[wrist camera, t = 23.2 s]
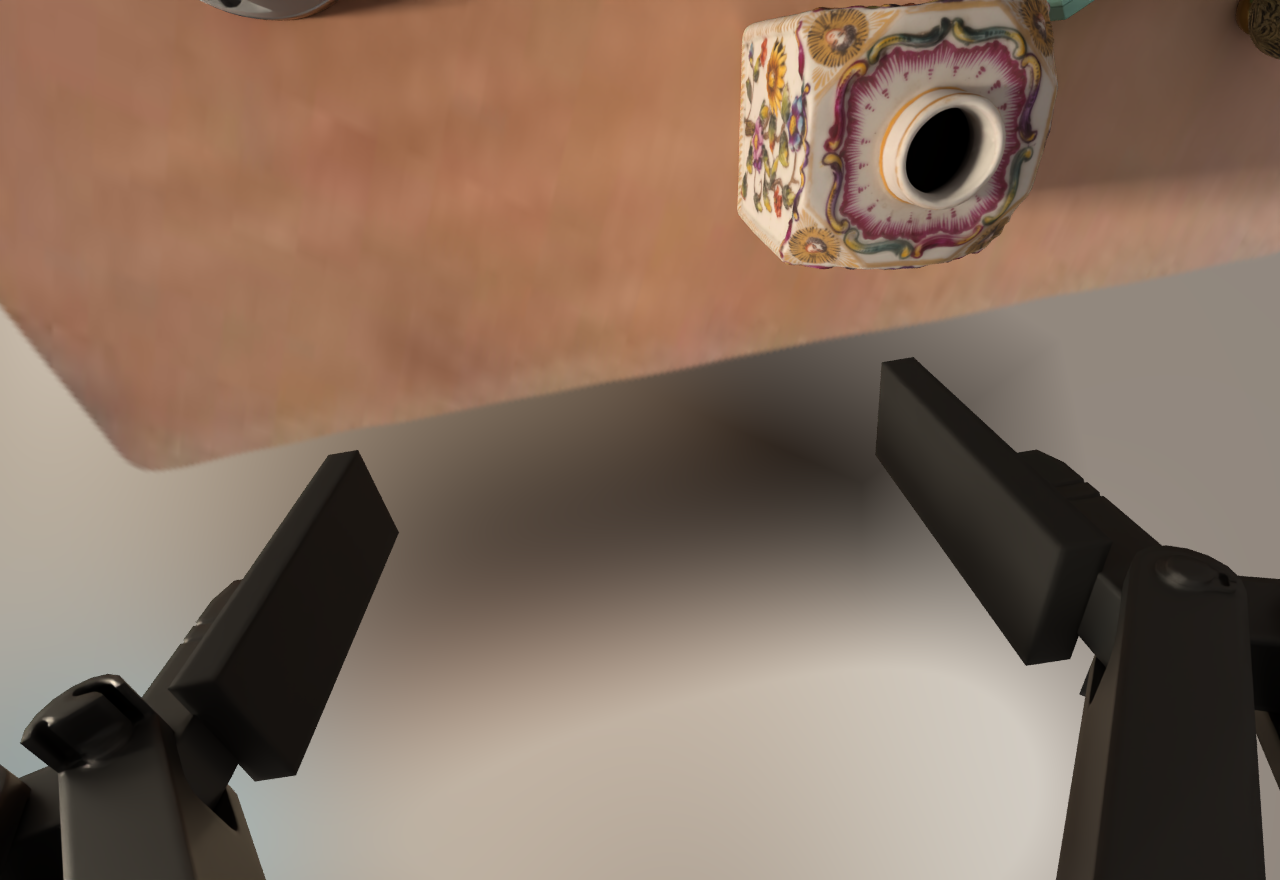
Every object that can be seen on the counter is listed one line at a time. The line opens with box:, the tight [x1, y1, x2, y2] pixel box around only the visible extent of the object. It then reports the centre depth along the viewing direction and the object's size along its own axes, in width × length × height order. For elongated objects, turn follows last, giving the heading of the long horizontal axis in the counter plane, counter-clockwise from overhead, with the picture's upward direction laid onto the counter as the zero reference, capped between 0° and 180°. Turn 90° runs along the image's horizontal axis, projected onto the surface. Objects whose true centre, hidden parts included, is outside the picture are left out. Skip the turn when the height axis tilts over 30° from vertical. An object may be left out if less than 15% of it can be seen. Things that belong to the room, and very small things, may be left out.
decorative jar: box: [737, 0, 1058, 270], centre depth 33 cm, size 12×12×18 cm
